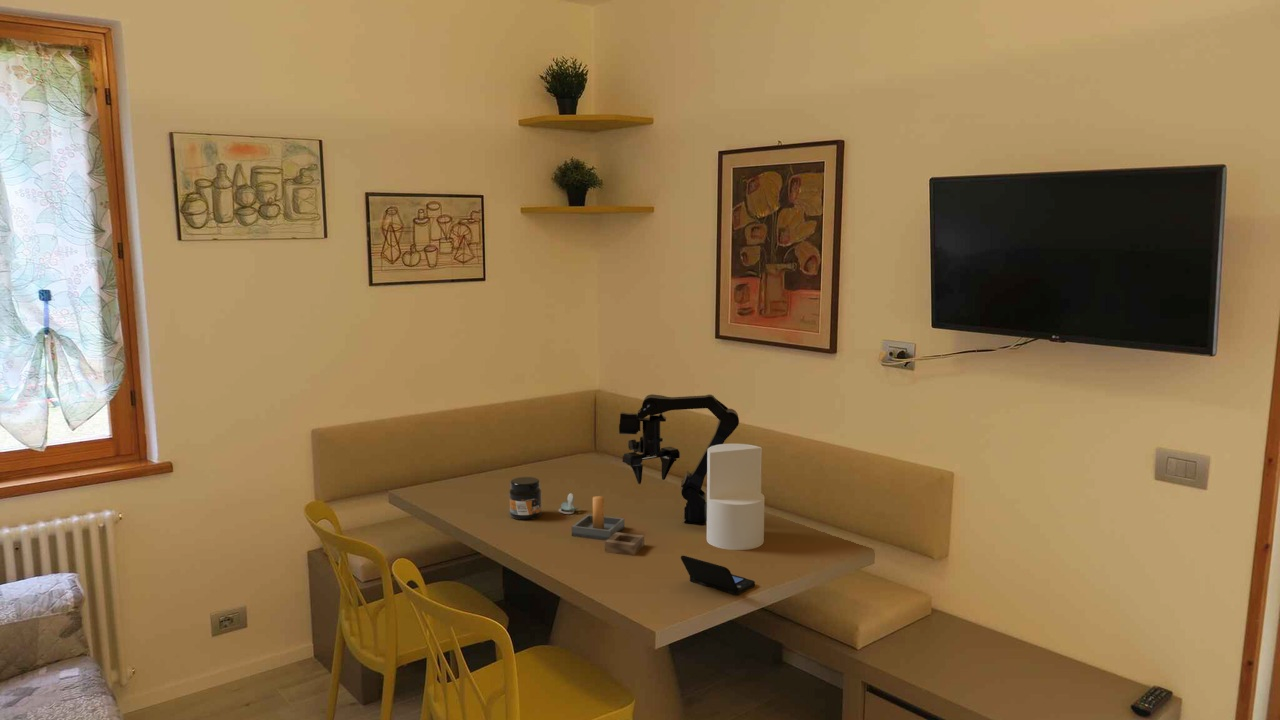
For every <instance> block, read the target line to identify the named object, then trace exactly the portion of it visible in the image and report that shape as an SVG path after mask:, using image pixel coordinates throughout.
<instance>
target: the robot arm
mask: <svg viewBox="0 0 1280 720" xmlns="http://www.w3.org/2000/svg"><path fill="white" fill-rule="evenodd" d="M699 409H700V410H701V409H707V410H708V411H710V413H712V414H713V415H714V416H715V417H716V419H718V421H717V425H716V429H715V432H714V434H713V436H712V437H711V439H710V441H709V443H708V445H707V446H706V449H705V450H704V452H703V454H702V455H701V458H700V460H699V461H698V462H697V465H696V466H695V468H694V470H692V471H691V472H689V471H688V470H687V471H686V473H685V476H684V477H683V478H682V480H681V482H680V484H681V486H680V487H681V490H680V491H681V496H682V498H683V499H684V500H686V502H685V506H684V510H683V511H684V515H683V517H684V522H683V523H684V524H689V525H699V526H700V525H701V526H704V525H705V524H707V493H706V492H705V491H704V490H703V489H702V487H703V483H704V480H705V477H706V476H707V449H708V448H709V447H711V446H714V445H719V444H725V443H724V442H725V441H726V440H728V438H729V437H730V436H731V435H732V433H734V431H735V430H736V429H737V428H738V426H739V424H740V418H739V414H738V412H737V411H736V410H735V409H733V408H728V406H726V405H725V404H723V403H722V402H721V401H720V400H718V399H717V397H716V396H714V395H713V394H706V395H688V396H665V395H662V394H661V395H660V394H653V393H651V394H648V395H646V396H645V398H644V399H643V401H642V404H641V407H640V409H638V412H637V413H634V412H633V413H628V412H627V413H626V412H621V413H620V414H619V415H620V416H619V423H618V428H619V429H618V434H620V435H638V433H639V432H641V430H642V435H641V436H640V438H639V441H637V440H636V439H629V440H628V442H627V443H628V444H627V445H628V450H629V451H632V452H626V453H625V452H624V454H623V455H622V463H624V464H626V465H627V466H630V468H631V469H632V471H633V473H634V476H635V479H636V481H637V485H638V484H639V485H641V483H642V480H643V471H644V469H643V467H644V464H642V462H643V461H644V460H650V459H651V460H652V459H658V458H659V459H660V461H661V479H662V480H663V481H665V480H666V478H667V476H668V474H669V471H670V470H671V468H672V467H673V464H674V463H675V462H676V461H677V459H680V458H681V452H680V450H679V449H678V448H676V447H673V446H666V447H665V446H664V447H661V443H662V442H663V437H661V422H663V423H664V422H666V421H667V417H666V416H665V415H663V414H664V413H666V412H670V411H678V410H679V411H681V410H683V411H684V410H699ZM648 416H649V417H648ZM641 428H642V429H641ZM637 452H638V453H637ZM639 453H640V454H639Z"/></svg>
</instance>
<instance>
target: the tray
mask: <svg viewBox="0 0 1280 720" xmlns="http://www.w3.org/2000/svg"><path fill="white" fill-rule="evenodd" d="M624 529H625V518H623V517H621V518H620V517H615V516H614V517H612V516H605V515H604V529H595V528H593V514H587V515H585V516H584V517H582V518H581V519H580V520H579V521H577V522H576V523H574V524H573V525H572V526H571V536H572V537H576V536H577V537H578V538H586V539H593V540H602V541H606V540H608V539H609V538H610V537H611V536H612V535H613V534H615V533H616V532H619V533H621V532H622V531H623V530H624Z"/></svg>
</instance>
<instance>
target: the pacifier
mask: <svg viewBox="0 0 1280 720" xmlns="http://www.w3.org/2000/svg"><path fill="white" fill-rule="evenodd" d="M566 498H567V502H566V501H565V502H562V503H561V505H560V508H559V509H558V512H559V513H560V514H563V515H572V514H574V513H575V511H576V510H578V509H580V506H578V507H574V502H575V501H574V500H575V495H574V493H569V494H567V497H566Z"/></svg>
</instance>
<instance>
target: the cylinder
mask: <svg viewBox="0 0 1280 720" xmlns="http://www.w3.org/2000/svg"><path fill="white" fill-rule="evenodd" d="M762 454H763V450H762V447H761V446H758V445H753V444H747V443H723V444H719V445H714V446H711V447H709V448H708V449H707V474H706V502H707V522H706V542H707V543H708V544H709V545H711V546H713V547H715V548H718V549H724V550H729V551H746V550H752V549H757V548H759V547H761V546H762V545H763V544H764V542H765V540H764V539H765V495H764V494H763V493H762V463H763V462H762V459H763V458H762V457H763V455H762Z"/></svg>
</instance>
